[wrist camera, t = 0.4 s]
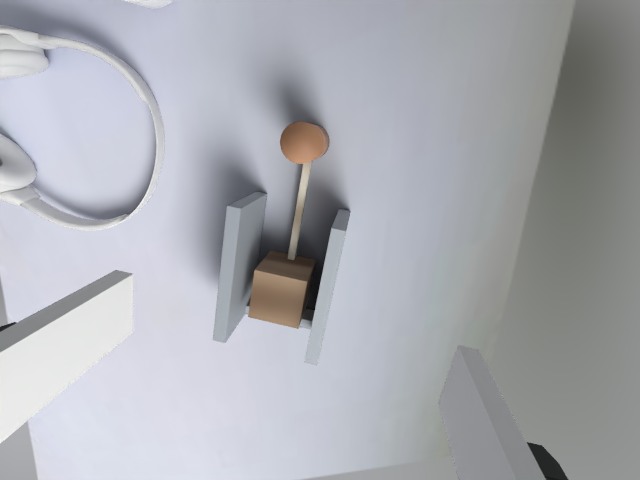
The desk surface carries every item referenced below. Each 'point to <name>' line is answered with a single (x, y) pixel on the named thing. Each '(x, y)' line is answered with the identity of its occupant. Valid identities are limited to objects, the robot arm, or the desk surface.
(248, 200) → the lane
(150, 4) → the cup
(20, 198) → the headphones
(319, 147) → the tethered block
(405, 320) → the desk surface
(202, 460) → the desk surface
